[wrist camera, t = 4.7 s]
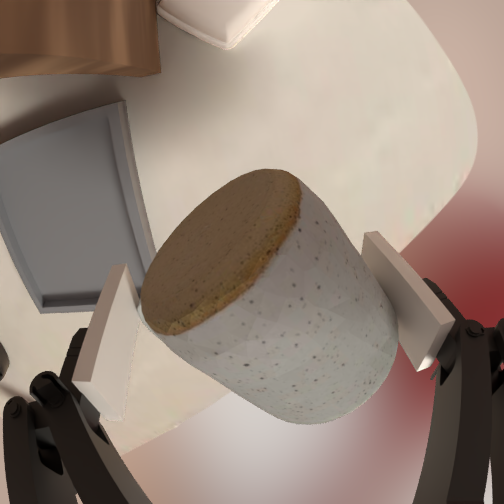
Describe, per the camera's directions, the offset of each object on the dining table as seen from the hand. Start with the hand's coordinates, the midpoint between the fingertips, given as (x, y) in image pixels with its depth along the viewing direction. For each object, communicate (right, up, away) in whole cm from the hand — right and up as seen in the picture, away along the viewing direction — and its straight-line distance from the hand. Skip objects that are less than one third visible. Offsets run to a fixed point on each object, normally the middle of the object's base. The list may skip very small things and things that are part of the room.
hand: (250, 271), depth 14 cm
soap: (-2, +19, 0) cm, 19 cm away
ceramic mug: (0, 0, +1) cm, 1 cm away
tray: (-15, +3, +7) cm, 17 cm away
